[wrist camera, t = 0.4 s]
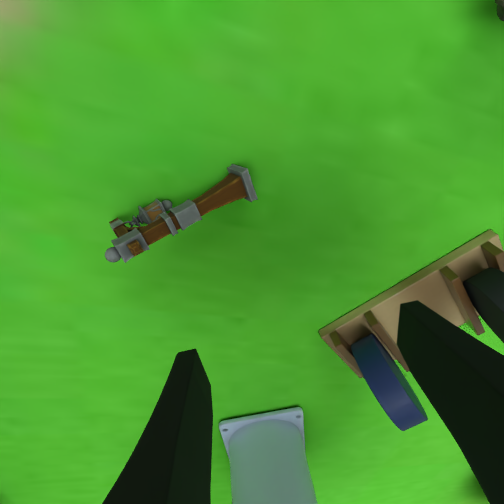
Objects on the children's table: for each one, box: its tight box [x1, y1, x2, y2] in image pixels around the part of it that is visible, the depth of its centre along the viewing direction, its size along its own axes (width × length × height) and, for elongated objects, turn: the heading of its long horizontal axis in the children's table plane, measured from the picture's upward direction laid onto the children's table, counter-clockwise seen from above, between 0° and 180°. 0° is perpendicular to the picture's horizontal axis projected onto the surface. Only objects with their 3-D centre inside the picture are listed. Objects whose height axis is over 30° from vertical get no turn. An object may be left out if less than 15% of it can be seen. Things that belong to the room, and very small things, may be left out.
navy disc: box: [351, 333, 428, 431], centre depth 23 cm, size 2×6×6 cm, turn 37°
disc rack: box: [319, 230, 504, 379], centre depth 25 cm, size 14×7×2 cm, turn 127°
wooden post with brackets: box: [105, 164, 258, 263], centre depth 17 cm, size 2×8×4 cm, turn 108°
